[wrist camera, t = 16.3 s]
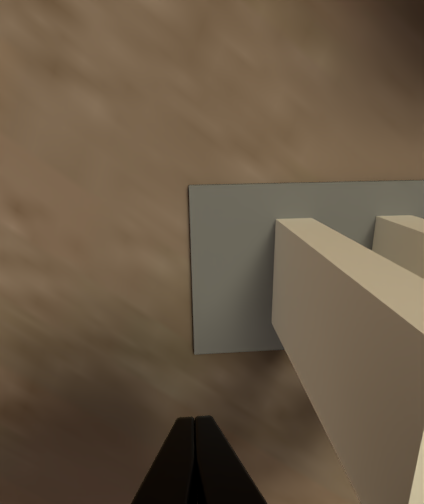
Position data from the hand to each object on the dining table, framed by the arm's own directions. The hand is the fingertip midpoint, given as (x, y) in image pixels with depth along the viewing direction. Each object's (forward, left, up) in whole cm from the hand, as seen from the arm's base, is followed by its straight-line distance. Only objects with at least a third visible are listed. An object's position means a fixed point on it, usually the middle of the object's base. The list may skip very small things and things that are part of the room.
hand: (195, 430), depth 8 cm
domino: (+1, -5, -8) cm, 9 cm away
